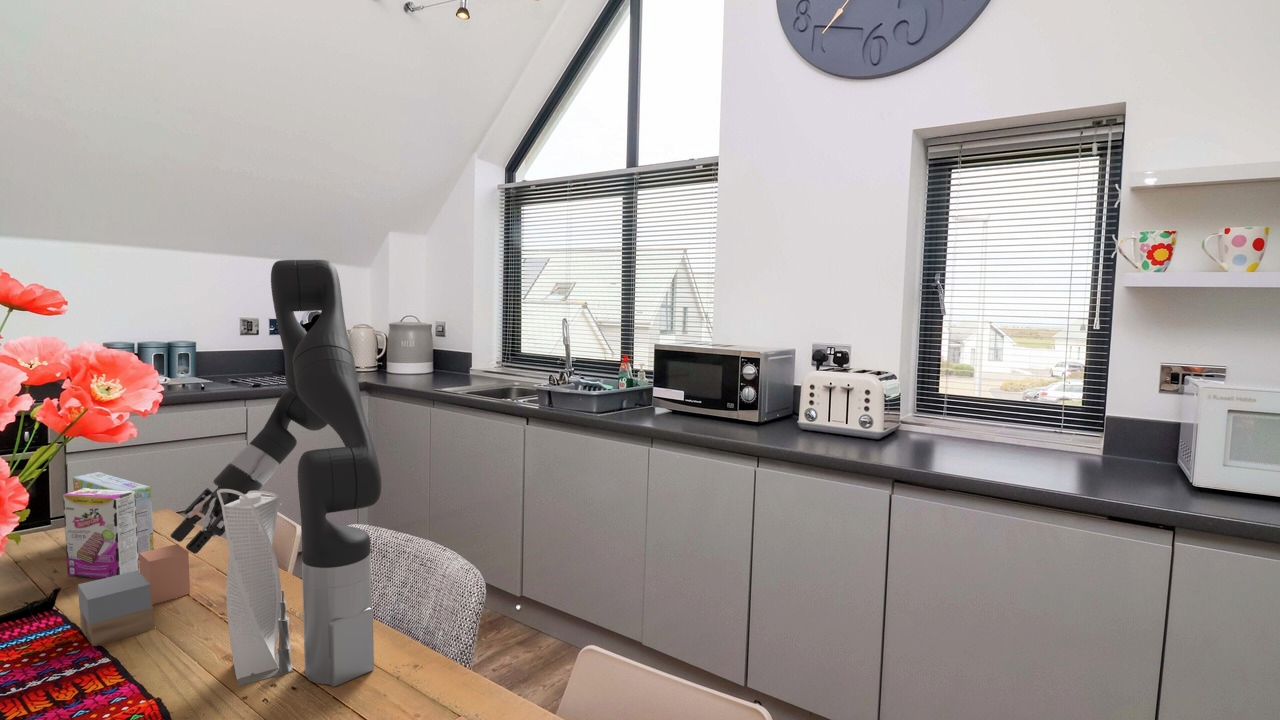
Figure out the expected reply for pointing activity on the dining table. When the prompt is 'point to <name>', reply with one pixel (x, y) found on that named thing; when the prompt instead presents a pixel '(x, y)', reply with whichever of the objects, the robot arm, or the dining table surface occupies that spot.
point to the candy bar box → (100, 532)
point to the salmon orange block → (166, 572)
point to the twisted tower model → (255, 589)
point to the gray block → (114, 596)
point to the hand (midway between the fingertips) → (182, 545)
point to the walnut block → (117, 627)
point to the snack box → (141, 498)
